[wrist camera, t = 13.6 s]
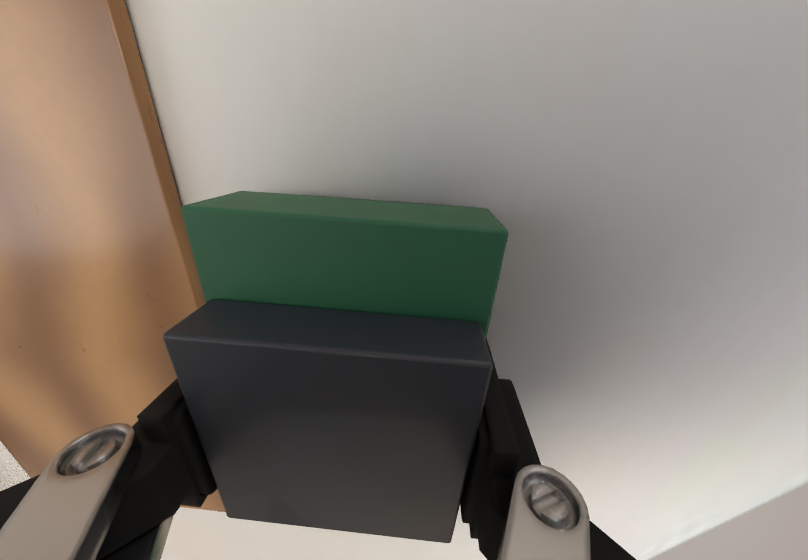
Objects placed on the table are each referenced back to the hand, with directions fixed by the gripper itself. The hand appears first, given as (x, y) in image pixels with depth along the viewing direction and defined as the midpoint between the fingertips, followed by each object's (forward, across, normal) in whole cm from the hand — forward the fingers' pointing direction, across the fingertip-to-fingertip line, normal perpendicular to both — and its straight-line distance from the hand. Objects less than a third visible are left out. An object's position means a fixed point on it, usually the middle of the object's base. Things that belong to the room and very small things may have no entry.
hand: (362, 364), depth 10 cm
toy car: (-1, -3, 0) cm, 4 cm away
